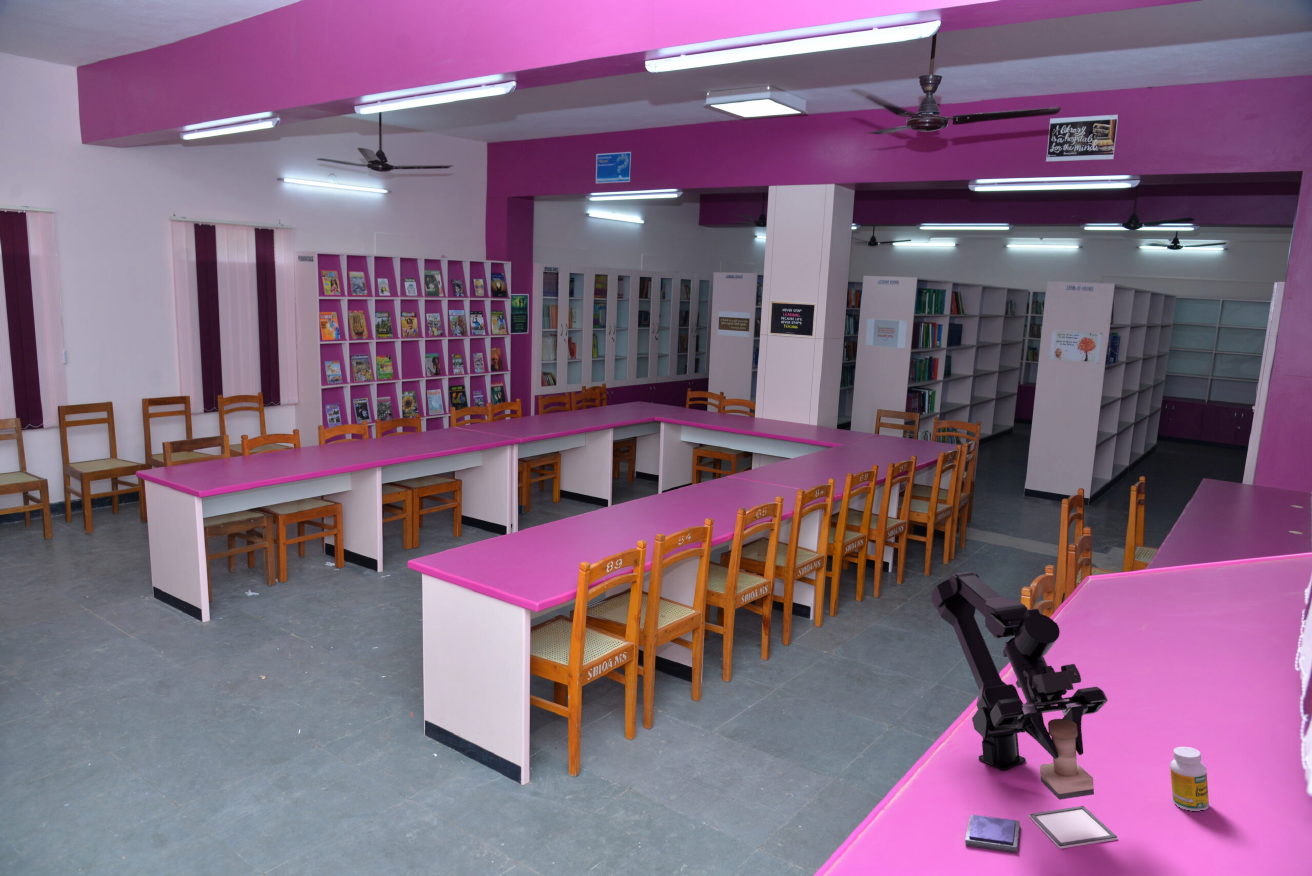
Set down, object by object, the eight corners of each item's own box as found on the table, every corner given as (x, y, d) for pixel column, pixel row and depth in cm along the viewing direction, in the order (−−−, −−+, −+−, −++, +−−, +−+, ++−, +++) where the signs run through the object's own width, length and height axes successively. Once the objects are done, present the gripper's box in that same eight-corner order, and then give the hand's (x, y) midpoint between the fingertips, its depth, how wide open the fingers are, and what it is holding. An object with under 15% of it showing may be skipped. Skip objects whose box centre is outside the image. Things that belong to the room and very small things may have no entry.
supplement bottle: (1181, 793, 148) (1178, 741, 147) (1215, 804, 144) (1211, 751, 143) (1166, 804, 145) (1162, 752, 145) (1200, 816, 141) (1196, 762, 140)
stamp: (1040, 781, 145) (1035, 719, 143) (1074, 776, 145) (1069, 714, 144) (1059, 799, 139) (1054, 735, 137) (1094, 794, 139) (1089, 730, 138)
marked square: (1028, 816, 147) (1028, 813, 147) (1083, 808, 147) (1083, 805, 147) (1059, 848, 137) (1059, 845, 137) (1118, 839, 137) (1118, 836, 137)
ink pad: (970, 820, 148) (970, 812, 148) (1019, 826, 144) (1019, 818, 144) (965, 845, 141) (964, 837, 141) (1017, 852, 137) (1016, 844, 137)
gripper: (991, 656, 143) (1029, 747, 133) (1097, 641, 144) (1142, 730, 134) (975, 683, 152) (1009, 770, 142) (1075, 669, 152) (1116, 754, 142)
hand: (1069, 756), depth 140 cm, fingers closed on stamp, 4 cm apart
